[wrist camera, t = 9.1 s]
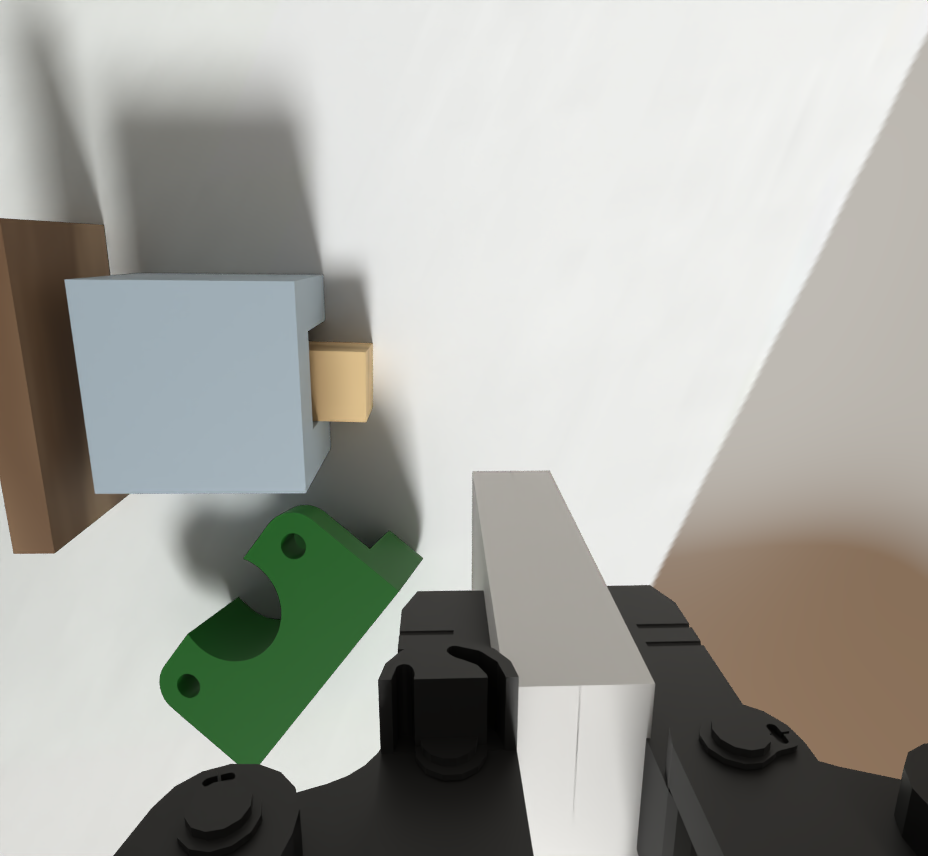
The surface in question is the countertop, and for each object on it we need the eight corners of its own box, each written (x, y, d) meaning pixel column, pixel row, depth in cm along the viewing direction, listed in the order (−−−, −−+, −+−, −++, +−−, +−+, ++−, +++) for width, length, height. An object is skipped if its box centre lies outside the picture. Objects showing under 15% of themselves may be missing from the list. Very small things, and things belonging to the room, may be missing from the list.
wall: (104, 488, 32) (13, 553, 25) (68, 224, 29) (-47, 217, 22) (136, 488, 32) (54, 553, 25) (103, 224, 29) (-1, 218, 22)
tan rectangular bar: (222, 402, 31) (199, 418, 28) (218, 338, 30) (194, 347, 27) (373, 406, 31) (366, 422, 29) (372, 342, 31) (365, 352, 28)
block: (158, 448, 31) (95, 493, 26) (138, 273, 29) (64, 279, 23) (330, 448, 32) (305, 493, 26) (323, 274, 30) (294, 281, 24)
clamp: (336, 490, 37) (315, 466, 28) (420, 559, 37) (426, 556, 28) (182, 671, 34) (105, 707, 26) (271, 747, 34) (224, 810, 25)
